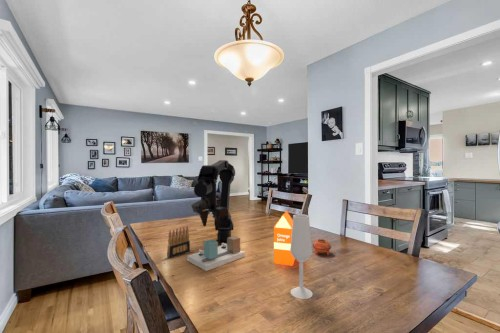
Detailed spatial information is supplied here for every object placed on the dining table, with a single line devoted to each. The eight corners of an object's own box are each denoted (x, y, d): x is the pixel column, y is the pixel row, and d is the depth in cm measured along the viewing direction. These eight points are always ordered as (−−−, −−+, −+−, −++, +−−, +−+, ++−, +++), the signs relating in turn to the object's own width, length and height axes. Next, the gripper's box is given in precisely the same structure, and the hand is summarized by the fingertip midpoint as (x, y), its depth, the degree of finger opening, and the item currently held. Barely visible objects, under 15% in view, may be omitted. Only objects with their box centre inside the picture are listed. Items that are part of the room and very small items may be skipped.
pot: (334, 252, 107) (333, 238, 106) (327, 261, 102) (326, 246, 101) (318, 247, 113) (317, 234, 111) (310, 255, 107) (309, 242, 106)
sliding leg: (203, 251, 103) (203, 236, 103) (217, 257, 95) (217, 241, 95) (195, 254, 100) (195, 238, 100) (209, 260, 93) (209, 243, 93)
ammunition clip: (169, 258, 102) (169, 230, 102) (167, 257, 103) (167, 230, 103) (190, 251, 110) (190, 225, 110) (187, 250, 111) (187, 225, 111)
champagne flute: (288, 287, 77) (287, 213, 77) (308, 286, 77) (308, 213, 77) (293, 299, 70) (293, 218, 70) (315, 298, 70) (315, 217, 70)
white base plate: (224, 248, 113) (224, 232, 113) (244, 256, 103) (244, 238, 103) (187, 260, 99) (187, 241, 99) (206, 271, 89) (206, 249, 89)
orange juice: (296, 257, 102) (295, 211, 102) (292, 265, 94) (292, 215, 94) (278, 255, 104) (277, 210, 104) (273, 263, 96) (273, 214, 96)
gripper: (182, 193, 106) (183, 228, 107) (207, 198, 93) (208, 237, 94) (203, 190, 114) (204, 223, 115) (228, 194, 101) (229, 230, 101)
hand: (210, 228), depth 106 cm, fingers open, 9 cm apart
